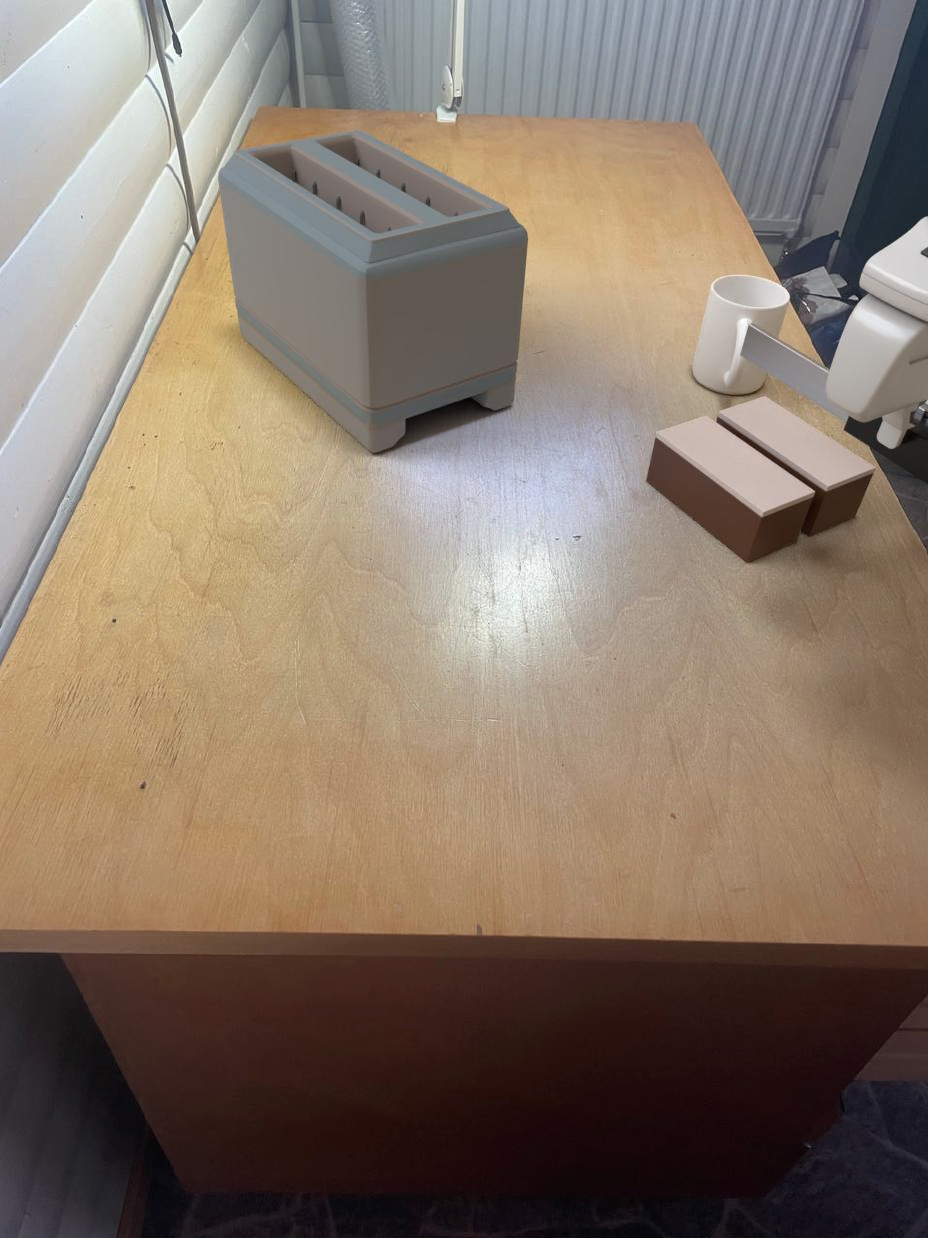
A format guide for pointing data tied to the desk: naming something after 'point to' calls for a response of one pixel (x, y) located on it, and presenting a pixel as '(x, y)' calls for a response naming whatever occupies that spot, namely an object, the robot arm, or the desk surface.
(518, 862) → the desk surface
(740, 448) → the cake
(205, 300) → the desk surface
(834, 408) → the knife
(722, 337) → the mug
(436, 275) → the toaster
